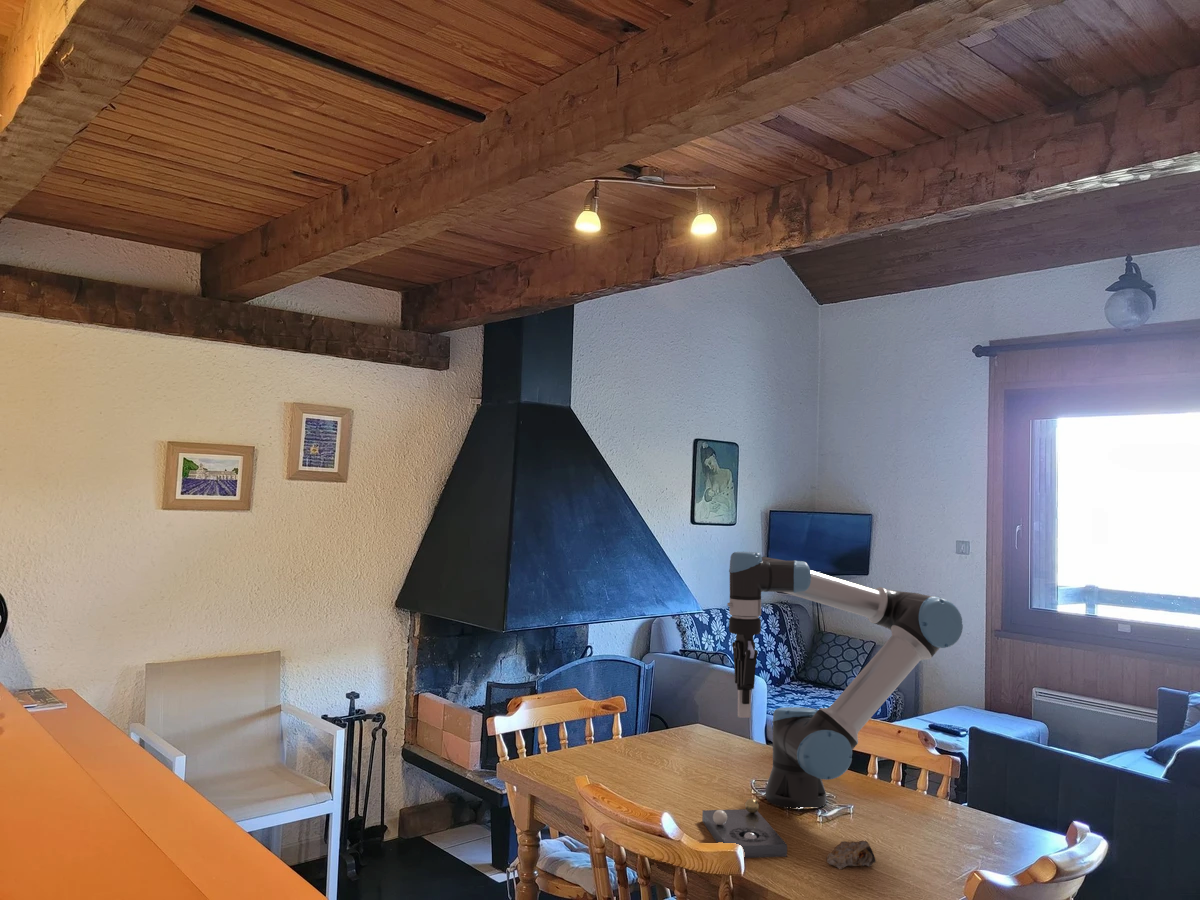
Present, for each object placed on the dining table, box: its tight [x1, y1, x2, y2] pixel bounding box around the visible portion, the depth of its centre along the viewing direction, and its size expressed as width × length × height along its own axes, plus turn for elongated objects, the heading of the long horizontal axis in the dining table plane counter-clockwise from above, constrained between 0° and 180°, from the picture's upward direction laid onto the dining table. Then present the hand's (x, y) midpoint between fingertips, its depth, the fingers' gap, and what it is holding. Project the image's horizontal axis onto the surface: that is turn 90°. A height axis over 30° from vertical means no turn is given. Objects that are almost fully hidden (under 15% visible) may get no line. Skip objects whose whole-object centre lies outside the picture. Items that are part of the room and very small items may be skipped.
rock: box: [826, 840, 876, 870], centre depth 186 cm, size 9×6×10 cm
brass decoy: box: [744, 798, 760, 813], centre depth 208 cm, size 3×3×3 cm
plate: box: [701, 808, 788, 859], centre depth 198 cm, size 22×13×2 cm, turn 7°
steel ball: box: [743, 832, 757, 839], centre depth 193 cm, size 3×3×3 cm
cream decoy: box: [713, 809, 727, 825], centre depth 200 cm, size 3×3×3 cm
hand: (743, 716), depth 210 cm, fingers closed
